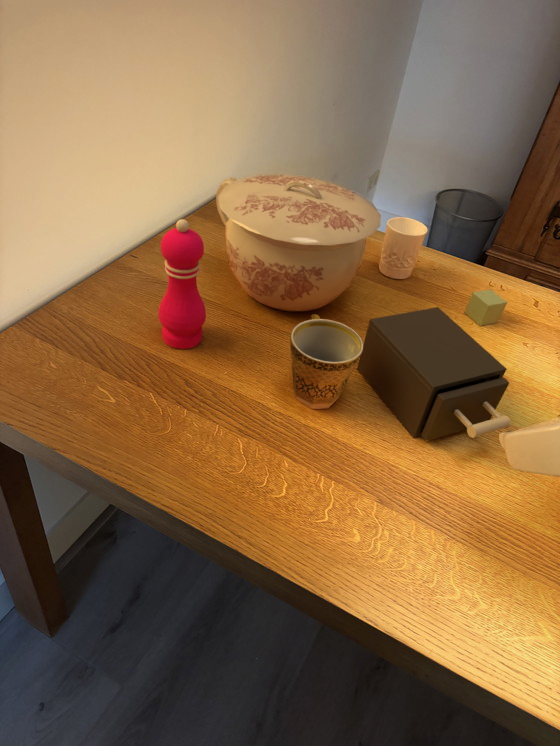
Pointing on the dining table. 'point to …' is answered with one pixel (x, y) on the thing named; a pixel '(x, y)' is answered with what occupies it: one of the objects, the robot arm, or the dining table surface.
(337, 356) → the ceramic cup
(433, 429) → the dark brown drawer
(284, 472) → the dining table surface
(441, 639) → the dining table surface
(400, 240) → the white cup
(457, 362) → the drawer box
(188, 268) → the pepper mill
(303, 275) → the chamber pot
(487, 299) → the block
